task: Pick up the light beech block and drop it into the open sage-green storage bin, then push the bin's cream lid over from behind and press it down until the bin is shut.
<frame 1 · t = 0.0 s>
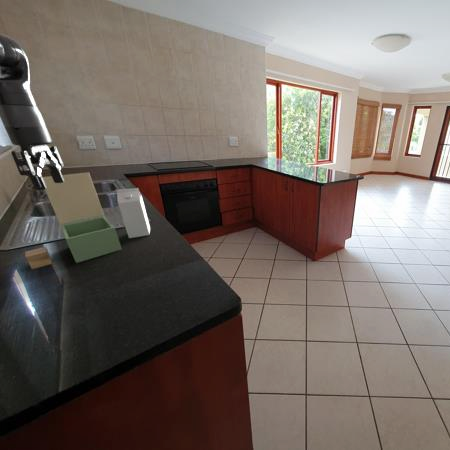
hand: (51, 186, 68), 26 cm above the counter, tool pointing down, fingers open, 8 cm apart
bin: (95, 248, 86), on the counter
bin lid: (74, 197, 86), point 17 cm above the counter, hinge at 95.0°
milk carton: (140, 234, 98), on the counter
block: (42, 263, 77), on the counter
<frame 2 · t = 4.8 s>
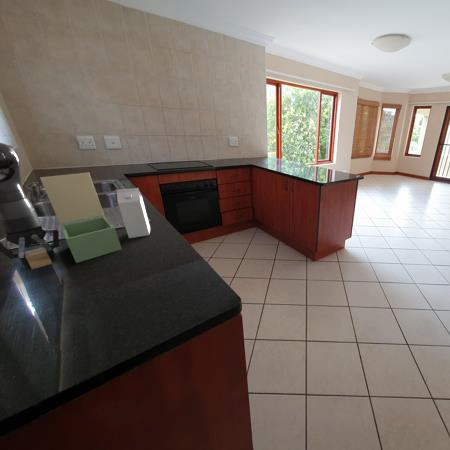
hand: (41, 263, 77), 0 cm above the counter, tool pointing down, fingers closed on block, 4 cm apart
block: (42, 263, 77), on the counter, touching gripper
everything else where it was.
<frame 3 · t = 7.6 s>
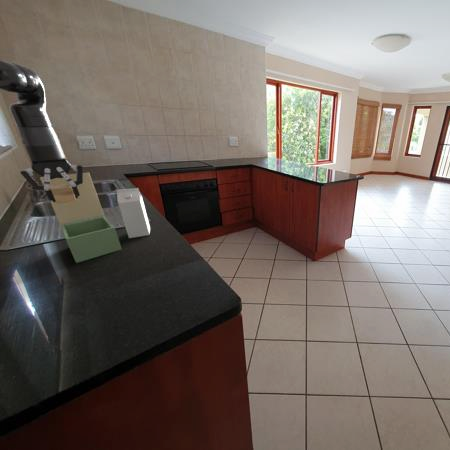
hand: (65, 199, 76), 20 cm above the counter, tool pointing down, fingers closed on block, 4 cm apart
block: (66, 200, 76), point 19 cm above the counter, touching gripper
everything else where it was.
when the fingers open (8 cm above the counter, at t = 10.7 s): block drops 7 cm, resting on bin.
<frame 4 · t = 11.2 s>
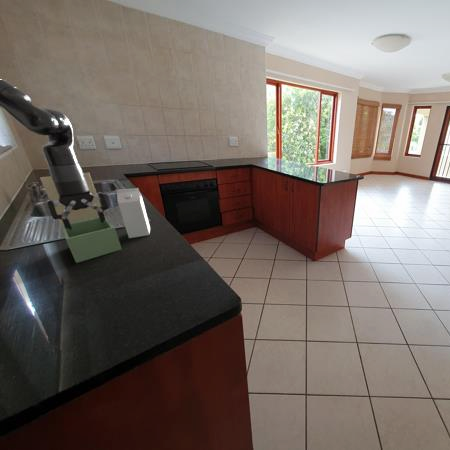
hand: (86, 225, 81), 10 cm above the counter, tool pointing down, fingers open, 8 cm apart
block: (96, 248, 85), point 1 cm above the counter, touching bin
everything else where it was.
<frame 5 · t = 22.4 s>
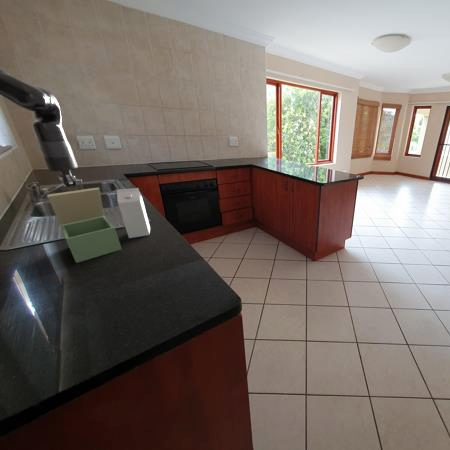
hand: (77, 204, 85), 15 cm above the counter, tool pointing down, fingers closed
bin lid: (77, 202, 82), point 17 cm above the counter, hinge at 50.2°, touching hand
everything else where it was.
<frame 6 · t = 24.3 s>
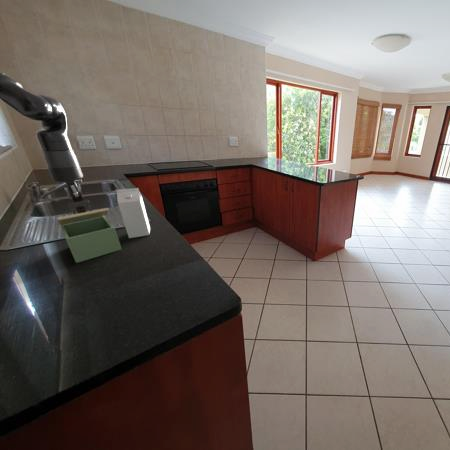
hand: (83, 215, 82), 13 cm above the counter, tool pointing down, fingers closed
bin lid: (81, 211, 81), point 14 cm above the counter, hinge at 22.3°, touching gripper
everything else where it was.
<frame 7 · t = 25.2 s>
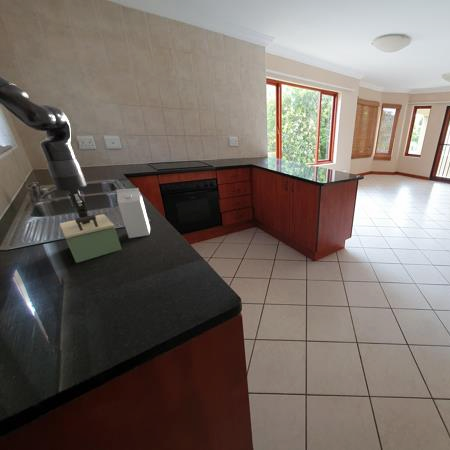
hand: (86, 222, 83), 10 cm above the counter, tool pointing down, fingers closed
bin lid: (84, 219, 82), point 12 cm above the counter, hinge at 1.5°, touching gripper
everything else where it was.
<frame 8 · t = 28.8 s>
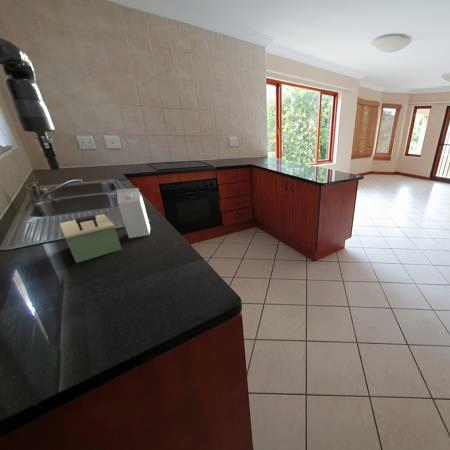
hand: (55, 169, 83), 27 cm above the counter, tool pointing down, fingers closed
bin lid: (84, 219, 82), point 11 cm above the counter, hinge at 1.3°
everything else where it was.
at the end: block inside the target area in the bin (2.0 cm from its centre), point 0.8 cm above the bin's base; bin lid at +1° (first picture: +95°) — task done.
